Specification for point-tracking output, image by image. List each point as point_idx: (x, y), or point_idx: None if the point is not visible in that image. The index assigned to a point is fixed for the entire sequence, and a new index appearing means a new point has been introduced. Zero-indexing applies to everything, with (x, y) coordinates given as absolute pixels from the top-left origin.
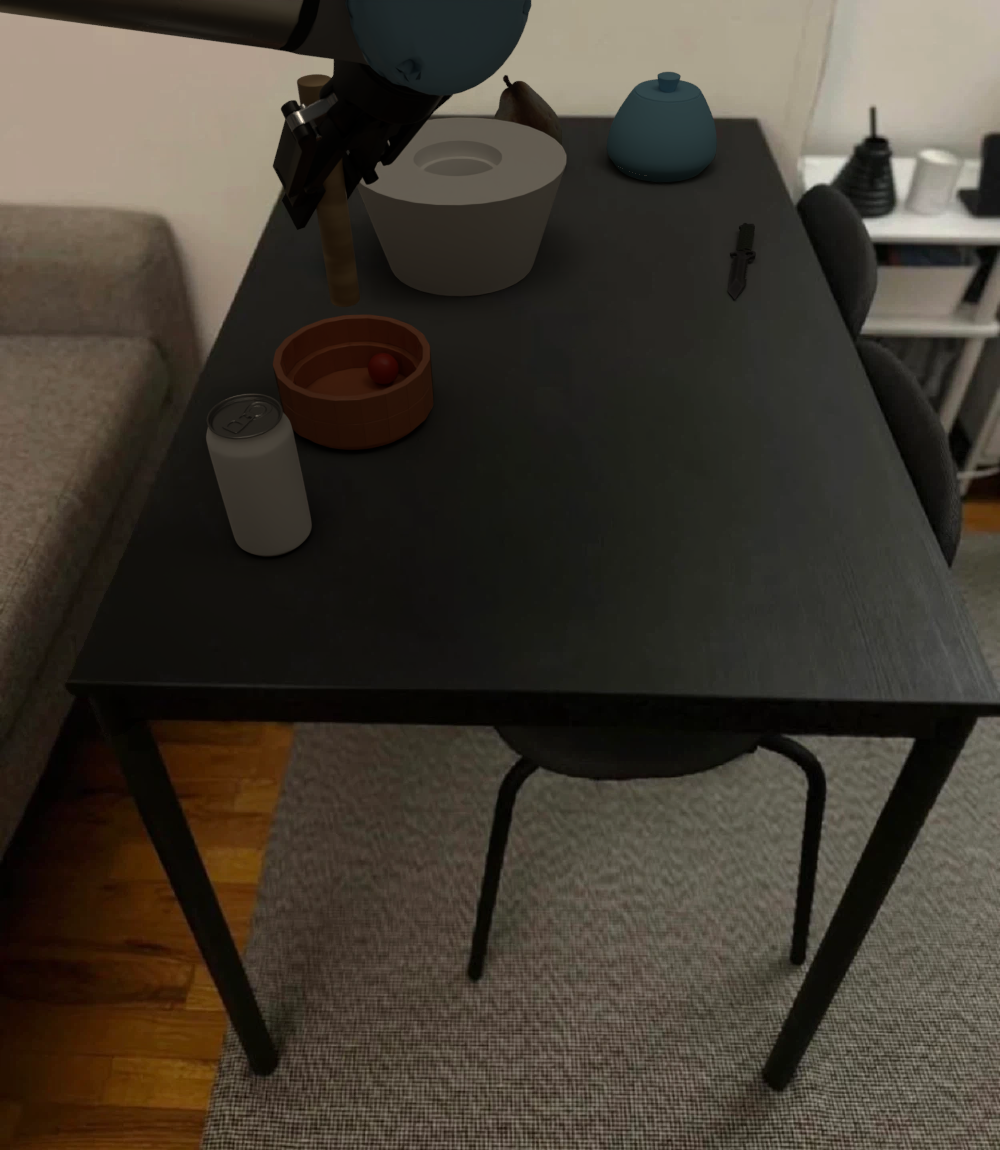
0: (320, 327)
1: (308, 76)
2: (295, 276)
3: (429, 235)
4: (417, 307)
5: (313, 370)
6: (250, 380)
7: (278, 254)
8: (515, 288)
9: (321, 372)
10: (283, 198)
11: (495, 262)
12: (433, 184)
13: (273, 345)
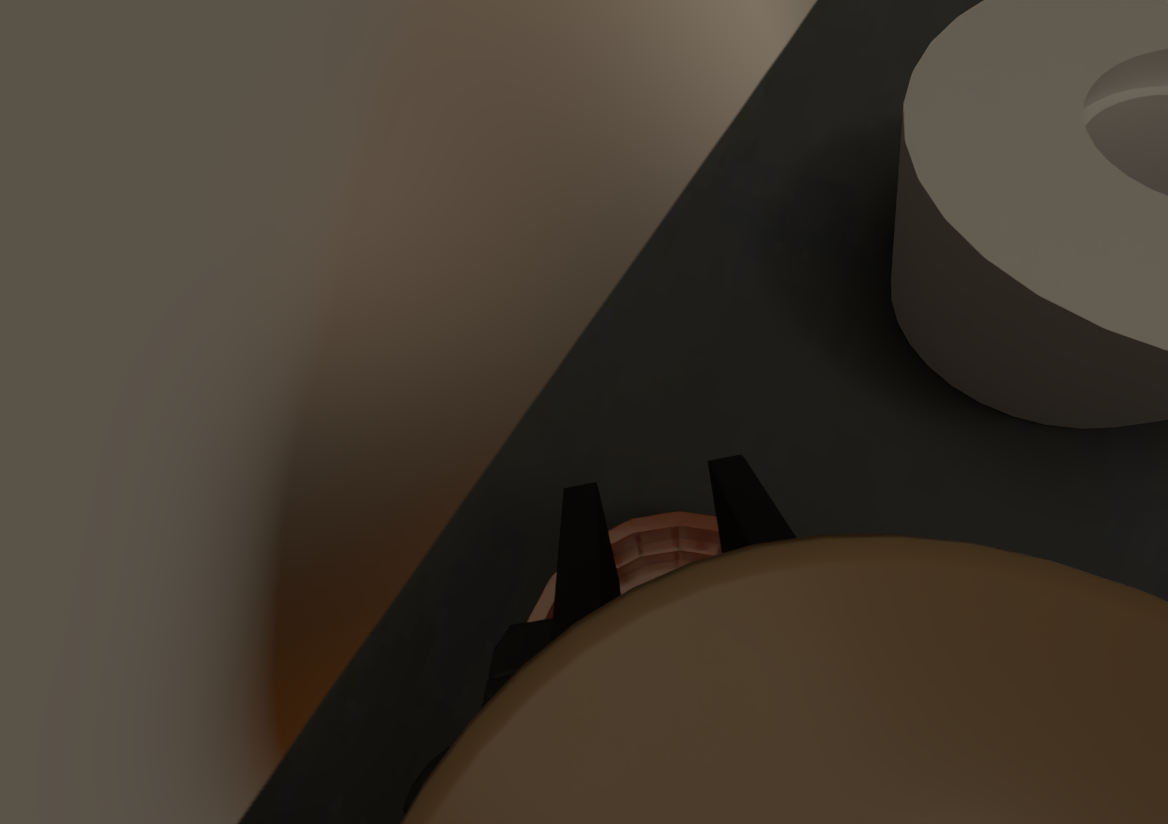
0: (666, 529)
1: (857, 692)
2: (721, 243)
3: (1021, 345)
4: (903, 412)
5: (634, 566)
6: (548, 492)
7: (717, 179)
8: (1143, 435)
9: (651, 562)
10: (564, 500)
11: (1147, 417)
12: (1117, 226)
13: (618, 413)
